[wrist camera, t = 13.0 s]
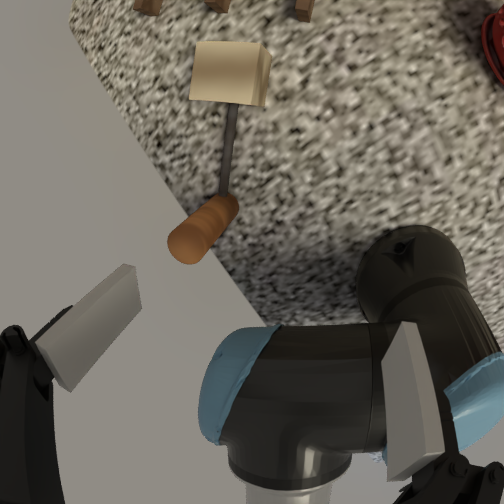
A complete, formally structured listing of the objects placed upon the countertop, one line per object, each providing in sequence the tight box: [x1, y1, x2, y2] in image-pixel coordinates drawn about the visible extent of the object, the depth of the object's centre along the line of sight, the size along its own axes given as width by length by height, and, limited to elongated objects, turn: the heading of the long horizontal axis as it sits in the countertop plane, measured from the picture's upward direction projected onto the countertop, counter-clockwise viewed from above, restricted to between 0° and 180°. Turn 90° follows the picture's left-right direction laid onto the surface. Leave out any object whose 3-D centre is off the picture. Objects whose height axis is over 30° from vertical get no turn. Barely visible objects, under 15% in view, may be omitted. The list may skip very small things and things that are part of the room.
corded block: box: [167, 41, 272, 264], centre depth 25 cm, size 20×6×11 cm, turn 172°
